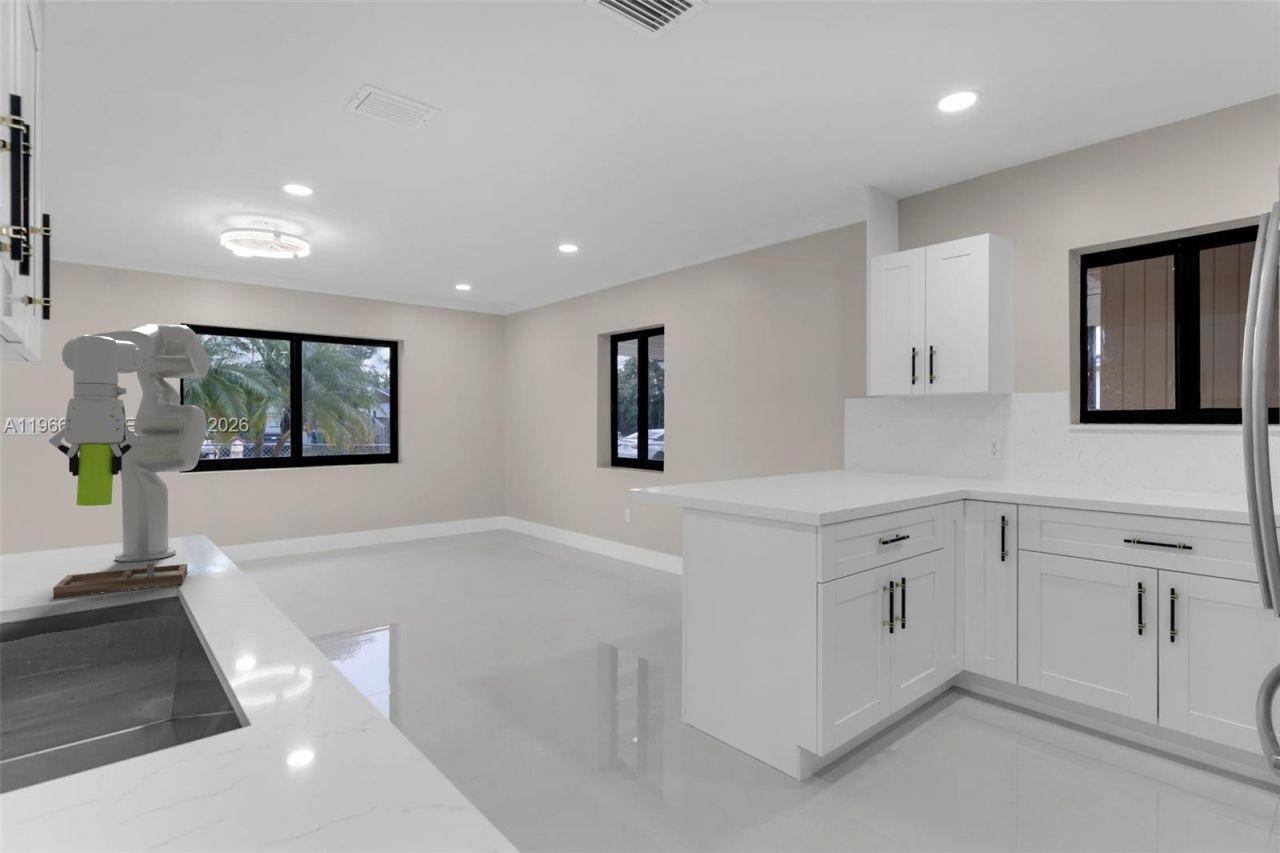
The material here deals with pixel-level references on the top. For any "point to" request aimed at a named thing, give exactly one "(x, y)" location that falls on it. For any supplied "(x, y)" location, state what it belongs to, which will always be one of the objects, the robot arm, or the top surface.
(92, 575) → the wooden divided tray
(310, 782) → the top surface
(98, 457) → the soap dispenser
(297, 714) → the top surface
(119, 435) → the robot arm
